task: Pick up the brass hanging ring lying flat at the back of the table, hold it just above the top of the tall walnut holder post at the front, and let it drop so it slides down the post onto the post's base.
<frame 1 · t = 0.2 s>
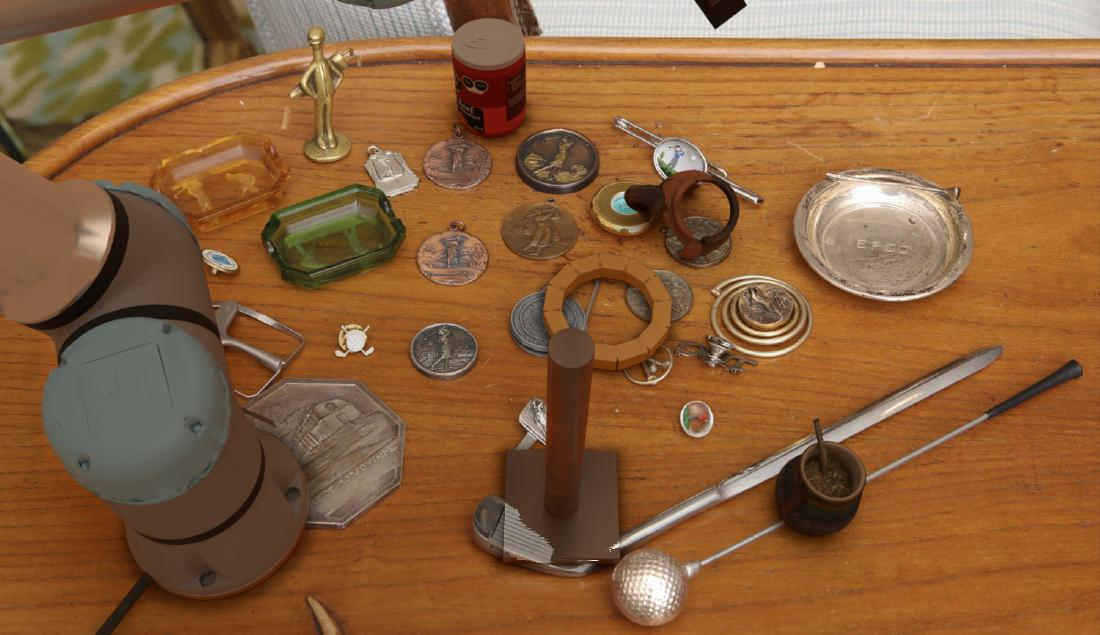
holder: (561, 508, 82), on the table
ring: (606, 315, 93), on the table
canned food: (492, 116, 108), on the table
brown knobbed loop: (675, 226, 99), on the table
mate gourd: (806, 505, 82), on the table
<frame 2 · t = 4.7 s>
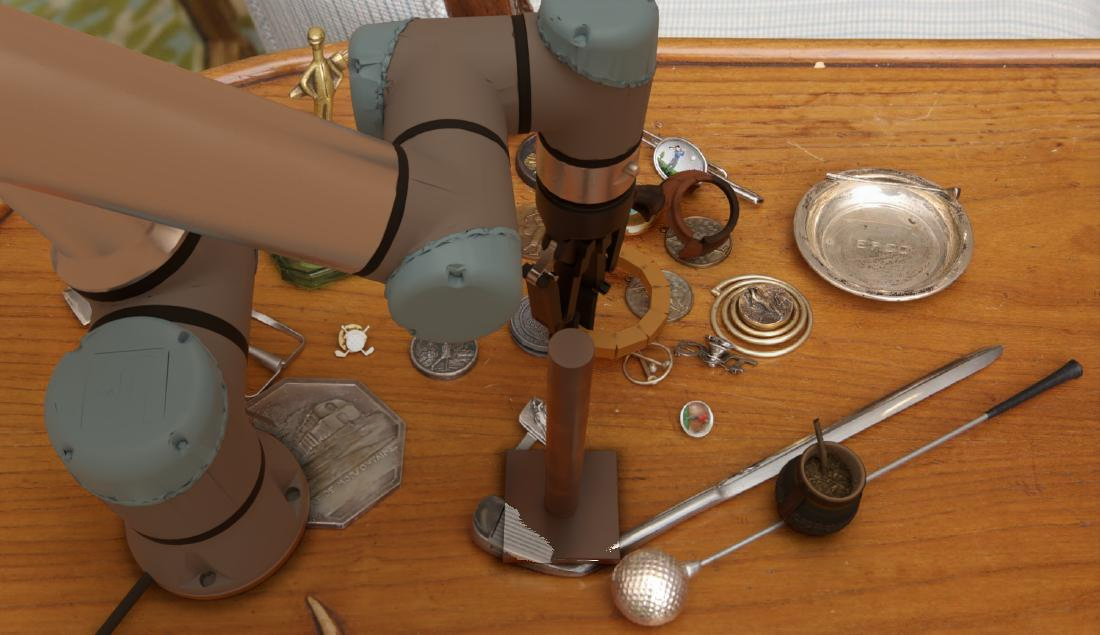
hand: (570, 336, 88), 3 cm above the table, tool pointing down, fingers closed on ring, 2 cm apart
ring: (603, 302, 90), point 2 cm above the table, touching gripper
everything else where it was.
when the fingers open (27 cm above the table, at t = 12.3 s): ring drops 25 cm, resting on holder.
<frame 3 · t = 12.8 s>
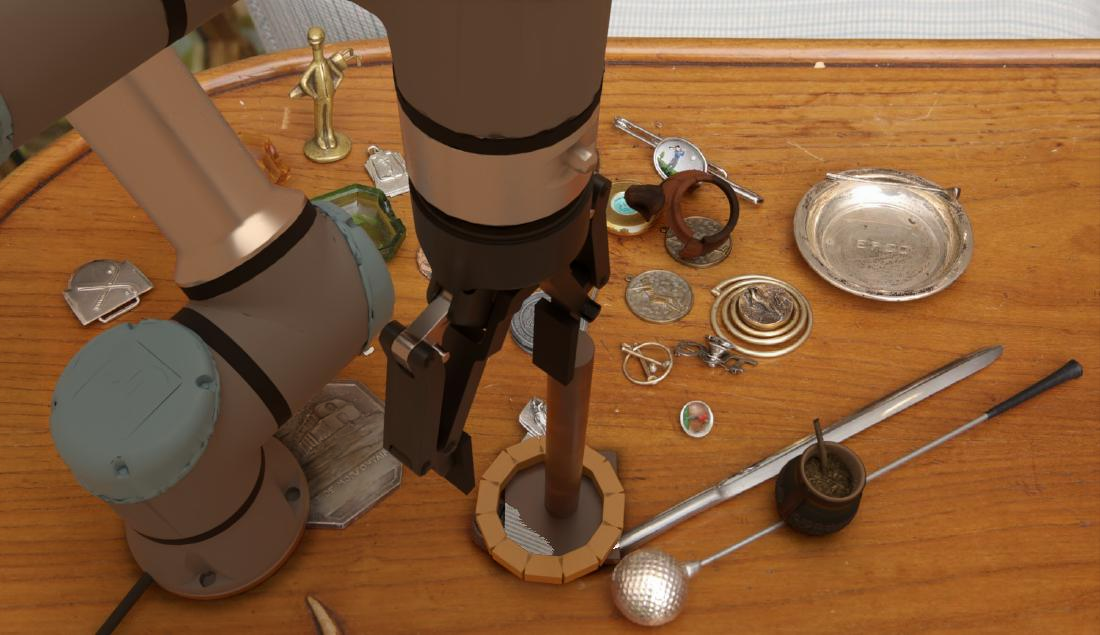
hand: (505, 421, 55), 28 cm above the table, tool pointing down, fingers open, 9 cm apart
ring: (550, 510, 80), point 1 cm above the table, touching holder
everything else where it was.
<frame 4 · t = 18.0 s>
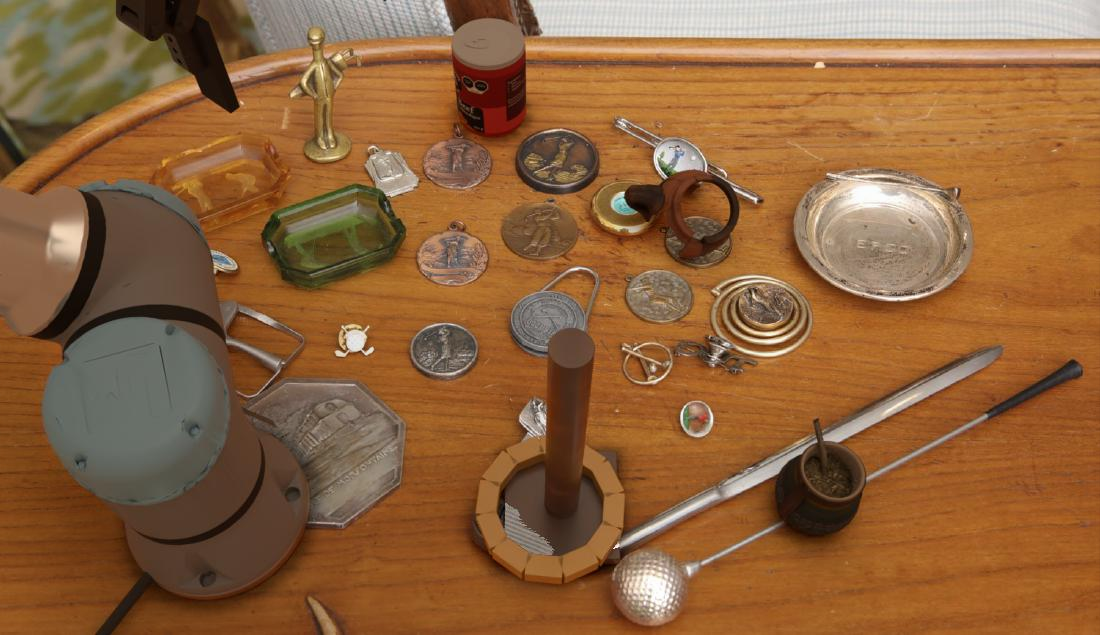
hand: (301, 43, 60), 37 cm above the table, tool pointing down, fingers open, 13 cm apart
nothing on the table moved.
at the end: ring 1.3 cm from the holder (horizontally); ring point 1.5 cm above the table; the gripper is holding nothing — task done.
